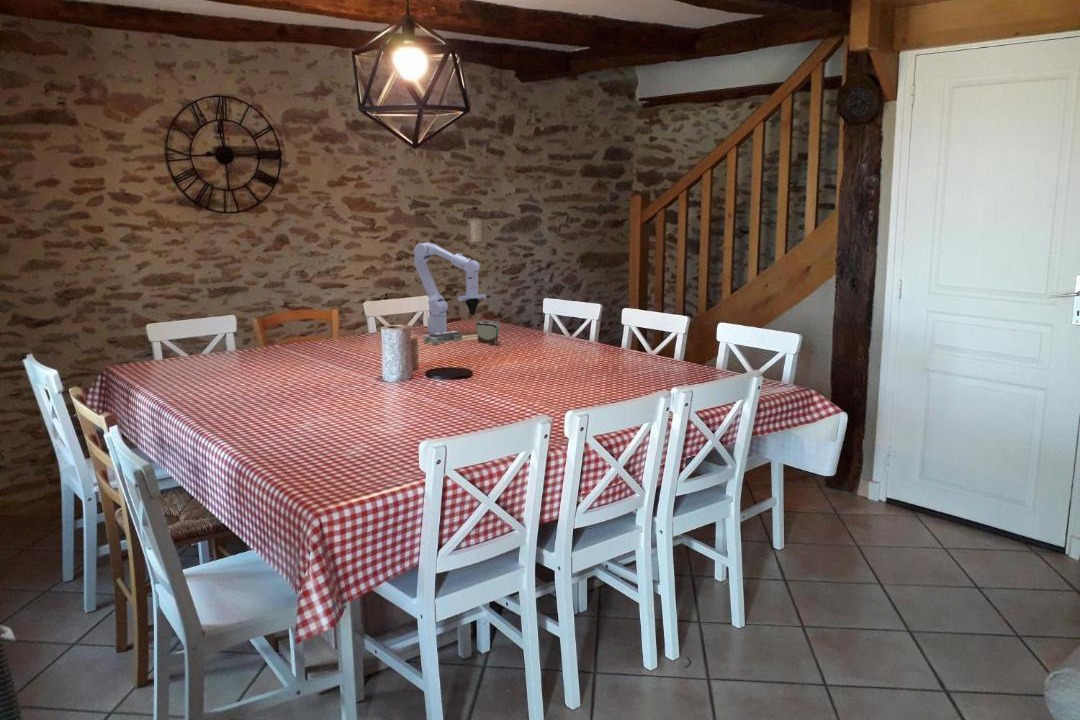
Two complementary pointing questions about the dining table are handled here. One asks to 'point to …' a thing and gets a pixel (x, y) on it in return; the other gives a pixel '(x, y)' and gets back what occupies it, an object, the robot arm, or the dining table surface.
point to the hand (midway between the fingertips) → (472, 314)
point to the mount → (437, 340)
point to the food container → (488, 332)
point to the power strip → (446, 335)
